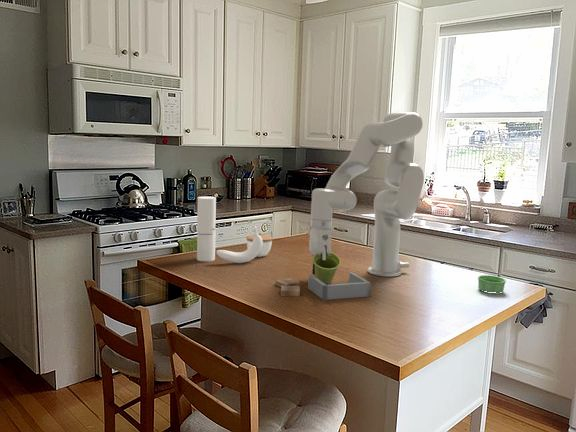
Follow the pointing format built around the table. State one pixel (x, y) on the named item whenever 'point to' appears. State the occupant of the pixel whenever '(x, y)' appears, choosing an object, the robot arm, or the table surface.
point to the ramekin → (491, 283)
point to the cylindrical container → (206, 228)
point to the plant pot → (326, 267)
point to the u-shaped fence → (340, 288)
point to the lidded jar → (265, 246)
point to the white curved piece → (246, 255)
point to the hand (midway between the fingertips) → (317, 274)
